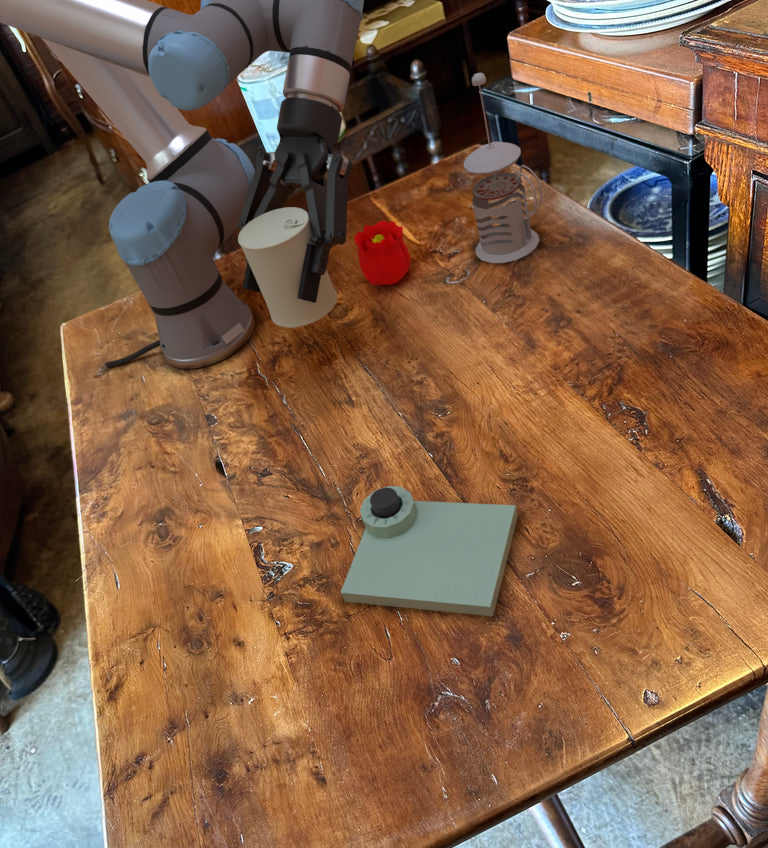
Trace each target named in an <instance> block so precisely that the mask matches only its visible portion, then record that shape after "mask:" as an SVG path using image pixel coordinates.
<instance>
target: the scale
mask: <svg viewBox="0 0 768 848" xmlns="http://www.w3.org/2000/svg"><path fill="white" fill-rule="evenodd" d="M383 488H392V489H393V490H395V491H396V493H397V496H398V498H399V501H400V504H401V507H400V510H399V512H398V513H397V514H396V515H394V516H392V517H389V518H379V517H378V516H376V515H375V513H374V510H373V508H372V506H371V503H370V498H371V496H372V494H373V493H374V492H375V491H377V490H378V489H375V490H373V491H372V492H371V493H370V494H369V495H368V496H366V497H365V498H364V499H363V502H362V504H361V507H360V509H359V512H360V516H361V519H362V522H363V525H364V527H365V528H364V531H363V533H362V536H361V538H360V541H359V543H358V546H357V549H356V552H355V554H354V557H353V558H352V562H351V564H350V566H349V570H348V572H347V575H346V577H345V580H344V582H343V585H342V587H341V589H340V594H341V597H342V599H343V600H344V602H347V603H355V604H356V603H357V604H366V605H376V606H384V607H396V608H406V609H413V610H414V609H415V610H425V611H435V612H444V613H454V614H463V615H473V616H474V615H475V616H485V617H494V616H495V611H496V608H497V603H498V599H499V595H500V591H501V586H502V583H503V578H504V574H505V570H506V567H507V562H508V558H509V553H510V550H511V545H512V541H513V539H514V534H515V529H516V525H517V521H518V518H519V513H518V508H517V506H516V505H515V504H498V503H497V504H496V503H473V502H453V501H451V502H449V501H429V500H428V501H427V500H414V497H413V495H412V492H411V491H409V490H407V489H405V488H404V487H402V486H400V485H399V486H398V485H397V486H396V485H387V486H383Z"/></svg>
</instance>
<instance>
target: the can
mask: <svg viewBox="0 0 768 848" xmlns="http://www.w3.org/2000/svg"><path fill="white" fill-rule="evenodd" d="M248 222H249V223H248V224H247V225H246V226H245V227H244V228H243V229H240V231H239V233H238V235H237V236H238V237H237V242H238V244H239V246H240V247H241V249H242V251H243V253H244V257H245V256H246V258H247V260H248V263H249V265H250V267H251V269H252V272H253V274H254V276H255V278H256V281H257V283H258V285H259V288H260V290H261V292H262V293H261V295H262V297H263V299H264V301H265V304H266V306H267V309H268V311H269V315H270V319H271V321H272V322H273V323H274V324H275V325H276V326H279V327H281V328H286V329H294V328H295V329H296V328H301V327H305V326H308V325H312V324H313V323H316V322H317V321H319V320H321V319H323V318H324V317H326V316H327V315H328V314H329V313H331V311H332V310H333V309H334V307H335V306H336V304H337V302H338V293H337V291H336V289H335V287H334V284H333V282H332V279H331V277H330V274H329V272H328V269H327V268H326V272H325V274H324V275H321V279H320V284H319V290H318V295H317V300H316V303H313V302H309V301H305V300H302V299H298V298H297V296H298V290H299V285H300V280H301V274H302V269H303V263H304V258H305V253H306V248H307V244H313V245H315V244H314V243H312V242H310V240H309V239H311V238H313V236H312V229H311V223H310V217H309V212H307V211H306V210H305V209H303V208H301V207H296V206H293V207H292V206H289V207H288V206H287V207H282V208H280V209H276V210H272V211H269V212H267V213H264V214H262V215H260V216H258V217H256V218H255V219H253V220H252V221H248ZM311 240H312V239H311Z"/></svg>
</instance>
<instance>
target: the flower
mask: <svg viewBox="0 0 768 848" xmlns="http://www.w3.org/2000/svg"><path fill="white" fill-rule="evenodd" d="M403 233H404V227H403V226H400V225H398V224H397V223H396V222H395V221H393V220H392V221H389V222H388V221H387V220H381V221H378V222H377V223H375V224H373V225H367V224H366V225H364V227H363V231H358V232H357V233H356V234H355V235H354V241H353V243H354V244H355V245H356V248H355V249H356V251H357V254H358V263H359V268H360V269H361V273H362V274H363V276H364V277H365V279H366V281H368V282H369V283H370V284H371V285H373V286H392V285H395V284H397V283H398V282H400V281H401V280H402V279H403V278H404V276H405V275H406V274H407V273H408V271H409V269H410V267H411V263H412V262H411V261H412V259H411V254H410V252H409V249H408V247H407V245H406V243H405V241H404V237H403Z"/></svg>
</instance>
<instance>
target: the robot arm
mask: <svg viewBox="0 0 768 848" xmlns="http://www.w3.org/2000/svg"><path fill="white" fill-rule="evenodd" d="M364 4H365V0H200V10H198V11H197V12H195V13H194V14H189V13H185V12H182V11H180V10H177V9H173V8H170V7H167V6H164V5H162V4H158V3H157V2H156V3H155V2H153V1H150V0H0V24H4V25H6V26H8V27H11V28H13V29H17V30H19V31H21V32H25V33H27V34H29V35H33V36H36V37H39V38H41V40H42V41H43V42H44V43H45V44H46V46H47V47H48V48H49V49H50V50H51V52H52V53H53V54H54V55H55V57H56V58H57V59H58V60H59V61H60V62H61V63H62V65H63V66H64V67H65V68H66V69H67V71H68V72H69V73H70V74H71V75H72V76H73V78H74V79H75V80H76V82H78V83H79V85H80V86H81V87H82V89H83V90H84V91H85V92H86V93H87V94H88V95H89V97H90V98H91V99H92V100H93V101H94V103H95V104H96V105H97V107H98V108H99V109H100V110H101V111H102V113H104V114H105V116H106V117H107V118H108V119H109V120H110V122H111V123H112V124H113V125H114V126H115V128H116V129H117V130H118V131H119V132H120V134H121V135H122V136H123V137H124V138H125V139H126V141H127V143H129V144H130V145H131V147H132V148H133V149H134V150H135V152H136V153H137V154H138V155H139V156H140V157H141V159H142V160H143V161H144V162H145V165H146V180H147V181H148V183H146V184H144V185H142V186H139V187H138V188H137V190H136V191H134V192H132V191H131V192H129V194H127V195H126V196H125V197H124V198H123V199H121V200H120V201H119V203H118V204H117V205H116V206H115V207H114V209H113V211H112V212H111V215H110V217H109V222H108V230H109V234H110V237H111V239H112V241H113V242H114V245H115V247H116V250H117V253H118V255H119V257H120V258H121V260H122V261H123V262H124V264H125V265H126V267H127V269H128V270H129V272H130V274H131V275H132V277H133V279H134V281H135V282H136V284H137V286H138V288H139V289H140V291H141V293H142V295H143V297H144V298H145V300H146V302H147V303H148V306H149V307H150V309H151V311H152V313H153V315H154V319H155V325H156V329H157V333H158V334H157V335H158V340H156V341H154V342H152V343H150V344H147V345H146V346H144V347H141V348H140V349H139V350H137V351H135V352H134V353H131V354H129V355H127V356H125V357H121V358H118V359H115V360H111V361H107V362H105V364H104V365H105V367H106V368H107V369H109V368H112V367H116V366H121V365H125V364H127V363H130V362H132V361H133V360H136V359H138V358H139V357H141V356H143V355H144V354H147V353H148V352H150V351H152V350H154V349H156V348H158V347H160V350H161V352H162V354H163V355H164V357H165V359H166V361H167V362H168V363H169V364H170V365H171V366H173V367H175V368H177V369H185V370H191V369H192V370H193V369H194V370H195V369H199V368H205V367H208V366H212V365H214V364H216V363H220V362H221V361H223V360H226V358H228V357H230V356H232V355H233V354H235V353H236V352H238V351H239V350H240V349H241V348H242V347H243V346H244V345H246V343H248V341H249V339H250V338H251V337H252V335H253V334H254V331H255V326H256V321H255V318H254V316H253V313H252V310H251V309H250V307H249V306H248V305H247V304H246V303H245V302H244V301H243V300H242V299H240V298H239V297H238V295H236V293H234V291H233V290H232V289H231V288H230V287H229V285H228V284H227V283H226V282H225V280H224V279H223V277H222V274H221V272H220V271H219V268H218V267H217V264H216V262H215V260H214V258H213V257H214V255H215V254H216V252H217V251H219V249H220V248H221V247H223V245H224V244H225V242H227V241H228V239H229V238H230V237H231V235H232V234H233V233H234V232H235V231H236V230H237V228H238V229H239V230H242V229H243V228H244V227H245V226H246V225H247V224H248V223H249V222H250V221H252V220H253V219H255V218H256V217H258V216H260V215H262V214H264V213H267V212H269V211H272V210H276V209H280V208H284V206H285V204H286V202H287V201H288V198H289V196H290V195H293V194H294V193H295V191H296V189H302V190H303V191H304V193H305V199H306V205H307V210H308V215H309V219H310V223H311V229H312V236H313V238H311V239H312V240H311V239H309V240H310V242H312V243H314V244H315V245H313V244H307V248H306V253H305V258H304V263H303V269H302V274H301V280H300V285H299V290H298V296H297V298H298V299H302V300H305V301H309V302H313V303H316V300H317V295H318V290H319V284H320V279H321V275H324V274H325V272H326V269H327V266H328V262H329V256H330V251H331V249H332V248H333V247H334V246H337V245H341V246H342V245H345V244H346V242H347V225H348V224H347V222H348V190H349V189H348V186H349V178H350V175H351V171H352V167H353V161H352V160H350V159H349V158H348V157H345V156H344V155H341V154H339V153H338V152H336V153H334V148H336V147H337V146H338V143H339V139H340V134H341V129H342V123H343V122H342V121H343V117H342V114H341V112H342V111H344V109H345V106H346V99H347V94H348V89H349V85H350V79H351V73H352V66H353V60H354V56H355V51H356V46H357V41H358V37H359V31H360V26H361V22H362V20H363V18H364V16H363V9H364ZM265 52H278V53H280V52H281V53H287V54H288V53H289V56H288V62H287V67H286V73H285V78H284V82H283V87H282V95H283V96H284V99H283V100H281V102H280V106H279V113H278V118H277V123H276V125H277V126H276V130H277V133H278V136H279V142H278V145H277V147H275V148H276V149H275V150H274V151H268V152H267V151H265V150H264V149H259V150H258V151H257V153H256V158H255V159H256V160H255V167H254V165H253V163H252V161H251V160H250V158H249V157H248V155H247V154H246V153H245V152H244V151H243V149H242V148H240V147H239V146H238V145H237V144H235V143H234V142H231V143H230V142H229V140H227V139H224V138H214V137H213V136H212V135H211V133H210V132H209V130H208V129H207V128H206V127H203V126H196V125H193V124H190V123H189V122H188V121H187V119H186V118H185V117H184V116H183V114H182V113H181V112H180V111H179V110H181V111H186V112H188V111H189V112H191V111H197V110H199V109H201V108H203V107H204V106H206V105H207V104H209V103H210V102H212V101H213V100H215V99H216V98H218V97H219V96H220V95H221V94H222V93H224V92H225V90H226V88H227V87H229V85H230V84H232V82H233V81H235V79H237V77H239V76H240V75H241V73H243V72H244V71H245V70H246V69H247V68H249V67H250V66H251V65H252V64H253V63H254V62H255V61H256V60H257V59H258V58H260V57H261V56H263V54H264V53H265ZM326 174H327V176H326ZM244 260H245V263H246V265H245V266H246V267H245V271H244V272H245V273H244V278H243V283H242V289H244V290H248V291H251V292H256V293H259V294H262V292H261V290H260V288H259V285H258V283H257V281H256V278H255V276H254V274H253V272H252V269H251V267H250V265H249V263H248V260H247V258H246V256H245V255H244Z"/></svg>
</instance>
